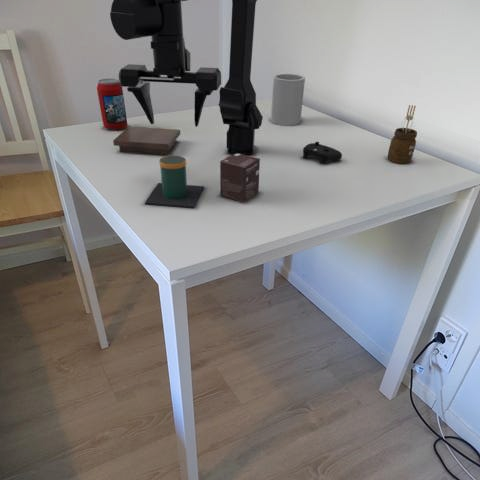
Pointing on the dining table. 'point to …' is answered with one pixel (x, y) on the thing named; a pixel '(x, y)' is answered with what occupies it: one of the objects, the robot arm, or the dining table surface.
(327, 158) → the game controller
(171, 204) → the mat
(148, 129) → the stand
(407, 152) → the utensil holder
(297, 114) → the cup
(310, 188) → the dining table surface
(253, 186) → the box
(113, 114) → the beverage can
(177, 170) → the tin
